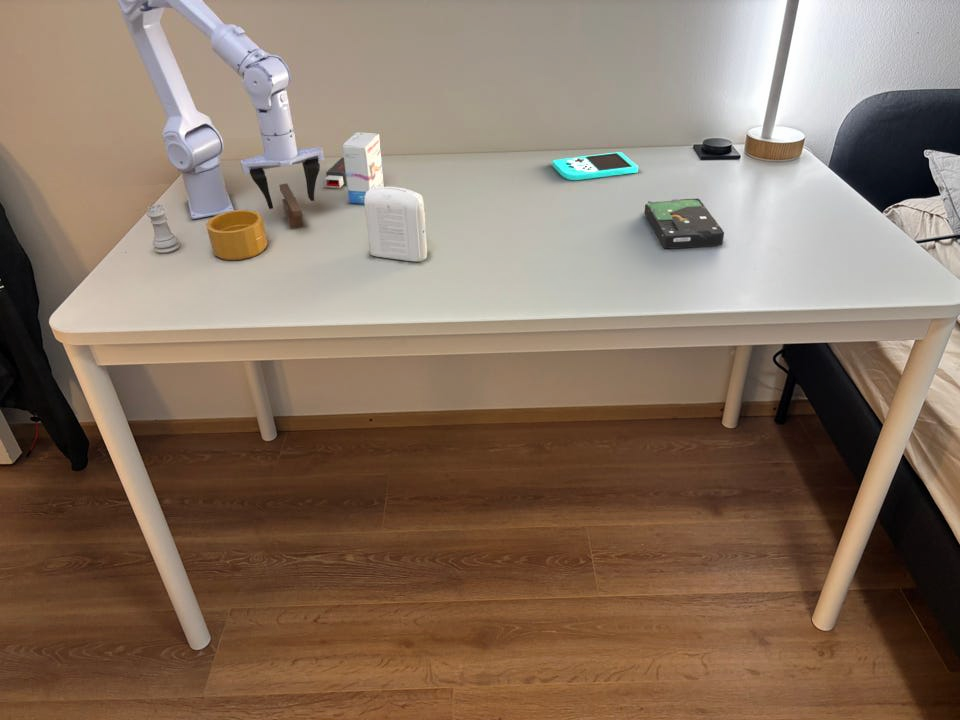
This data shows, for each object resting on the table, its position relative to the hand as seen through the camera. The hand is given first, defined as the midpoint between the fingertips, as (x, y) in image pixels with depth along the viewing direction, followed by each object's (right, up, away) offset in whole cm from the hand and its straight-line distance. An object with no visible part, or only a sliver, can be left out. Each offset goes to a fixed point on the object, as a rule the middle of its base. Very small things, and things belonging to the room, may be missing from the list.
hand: (291, 203), depth 139 cm
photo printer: (+21, -11, -10) cm, 26 cm away
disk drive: (+72, -6, -6) cm, 72 cm away
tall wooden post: (0, -3, +2) cm, 4 cm away
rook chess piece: (-21, -10, -5) cm, 24 cm away
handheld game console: (+60, +11, +20) cm, 64 cm away
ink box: (+13, +4, +12) cm, 18 cm away
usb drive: (+6, +10, +20) cm, 23 cm away
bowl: (-7, -10, -6) cm, 14 cm away
